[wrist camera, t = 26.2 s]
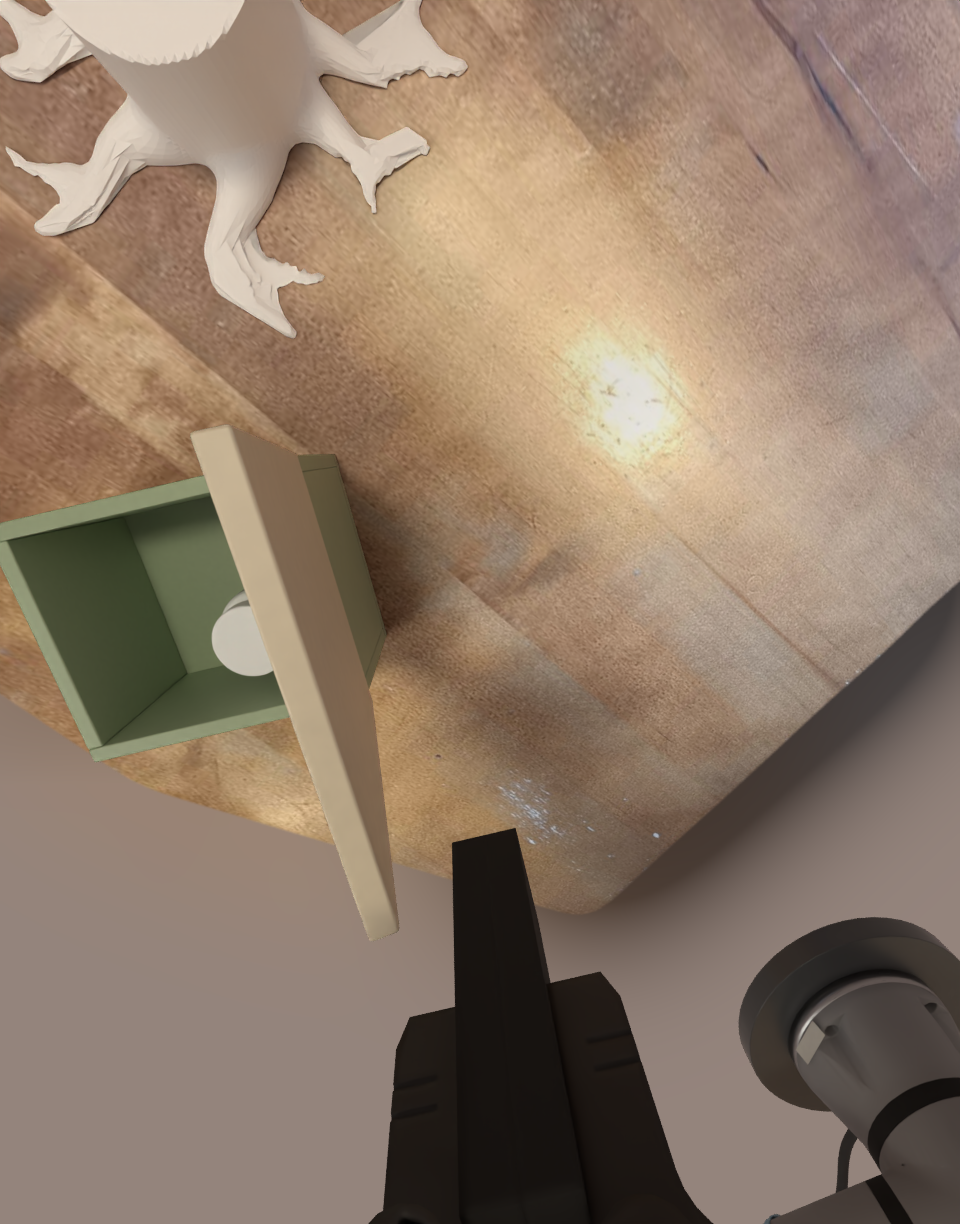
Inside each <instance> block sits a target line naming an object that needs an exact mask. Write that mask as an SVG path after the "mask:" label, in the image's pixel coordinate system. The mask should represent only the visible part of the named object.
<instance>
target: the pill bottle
mask: <svg viewBox="0 0 960 1224" xmlns="http://www.w3.org/2000/svg"><path fill="white" fill-rule="evenodd" d="M212 646H213V649H214V652H215V654H216V656H217V657H218V659H219V660H220V661H221V662H222V663H223V664H224V665H225V666H226V667H227V668H228V669H230V670H231V671H233V672H236V673H238V674H241V675H246V676H261V675H265V674H268V673H270V672H272V671H273V669H272V666H271V663H270V660H269V657H268V654H267V652H266V649H265V646H264V643H263V640H262V638H261V635H260V632H259V629H258V626H257V624H256V621H255V618H254V615H253V612H252V610H251V607H250V604H249V601H248V598H247V595H246V593H245V590H242V591H241V592H239V593H238V594H237V595H236V596H234V597H233V598H232V599H231V600H230V601H229V603H228V604H227V605H226V607H225V609H224V611H223V614H222V615H221V616H220V617H219V619H218V620H217V621H216V623H215V625H214V628H213V631H212Z"/></svg>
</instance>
